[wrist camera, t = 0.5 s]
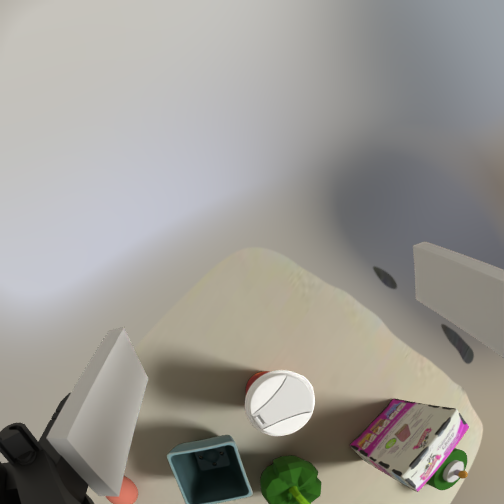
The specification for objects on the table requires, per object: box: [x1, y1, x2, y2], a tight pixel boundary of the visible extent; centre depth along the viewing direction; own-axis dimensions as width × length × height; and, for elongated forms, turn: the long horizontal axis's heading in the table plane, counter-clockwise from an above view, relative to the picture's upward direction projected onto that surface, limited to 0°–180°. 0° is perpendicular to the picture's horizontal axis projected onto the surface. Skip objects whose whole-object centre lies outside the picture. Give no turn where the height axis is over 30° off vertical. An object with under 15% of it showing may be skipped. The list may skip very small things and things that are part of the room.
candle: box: [426, 448, 468, 490], centre depth 34 cm, size 8×8×10 cm
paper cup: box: [245, 370, 315, 436], centre depth 35 cm, size 8×8×14 cm
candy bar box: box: [350, 399, 469, 492], centre depth 33 cm, size 11×5×16 cm, turn 131°
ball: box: [106, 476, 138, 504], centre depth 32 cm, size 6×6×6 cm
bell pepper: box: [260, 455, 321, 504], centre depth 33 cm, size 8×8×10 cm
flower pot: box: [167, 435, 253, 504], centre depth 34 cm, size 9×9×9 cm
